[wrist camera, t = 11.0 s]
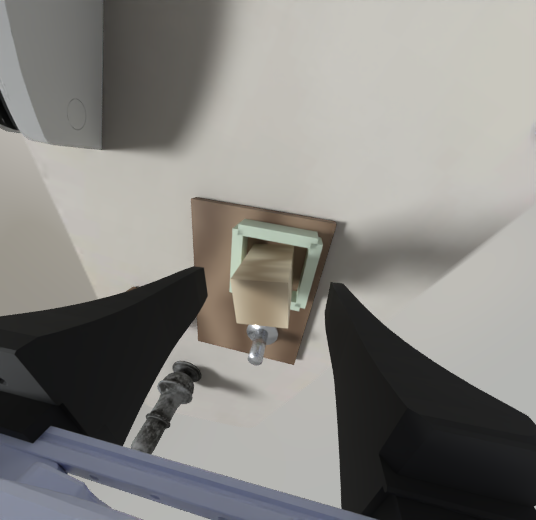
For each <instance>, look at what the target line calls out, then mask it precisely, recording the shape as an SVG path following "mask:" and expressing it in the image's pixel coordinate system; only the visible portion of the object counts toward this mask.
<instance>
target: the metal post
mask: <svg viewBox="0 0 536 520" xmlns="http://www.w3.org/2000/svg"><path fill="white" fill-rule="evenodd" d="M247 335H248V337H249V338H250V339H251V340H252V341H253V343H252V346H251V349H250V353H249V356H248V361H249V362H250V363H251V364H253V365H260V364H261V363H262V360H263V356H264V351H265V347H266V345H269V344H272V343H274V342H275V341H276V340H277V337H278V329H277V327H268V326H258V325H249V324H248V327H247Z"/></svg>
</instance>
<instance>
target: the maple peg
mask: <svg viewBox="0 0 536 520" xmlns="http://www.w3.org/2000/svg"><path fill="white" fill-rule="evenodd" d="M293 275H294V245H289V244H254V245H253V246H252V248H251V249H250V251H249V252H248V254H247V255H246V257H245V258H244V260H243V261H242V263H241V264H240V266H239V267H238V268H237V270H236V271H235V273H234V274H233V276H232V277H231V279H230V281H231V288H232V295H233V302H234V309H235V315H236V322H237V323H239V324H249V325H258V326H268V327H278V328H287V329H288V324H289V315H290V306H291V297H292V288H293Z"/></svg>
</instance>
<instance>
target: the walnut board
mask: <svg viewBox="0 0 536 520" xmlns="http://www.w3.org/2000/svg"><path fill="white" fill-rule="evenodd" d="M191 210H192V229H193V249H194V266H196V267H204V271H205V278H206V285H207V293H208V297H207V299H206V301H205V303H204V305H203V307H202V308H201V310H200V312H199V313H198V315H197V328H198V341H201V342H205V343H209V344H213V345H217V346H221V347H225V348H229V349H233V350H237V351H241V352H245V353H250V349H251V346H252V343H253V341H252V340H251V339H250V338H249V337H248V335H247V327H248V324H239V323H237V322H236V315H235V309H234V302H233V295H232V293H231V292H229V289H230V269H231V248H232V228H234V227H235V226H236V225H237V224H238V223H240V222H241V221H242V220H244V219H250V220H255V221H261V222H266V223H272V224H277V225H283V226H288V227H294V228H299V229H305V230H310V231H316V232H317V233H318V237H320V238H321V239H322V243H323V247H322V251H321V254H320V258H319V261H318V265H317V268H316V272H315V275H314V279H313V282H312V286H311V289H310V293H309V296H308V300H307V303H306V307H305V309H304V308H300V309H299V311H295V310H290V315H289V324H288V329H287V328H278V327H277V329H278V337H277V340H276V341H275V342H274V343H272V344H269V345H266V347H265V351H264V356H263V357H264V358H268V359H272V360H276V361H280V362H284V363H288V364H292V365H294V363H295V360H296V356H297V353H298V350H299V346H300V343H301V340H302V337H303V333H304V330H305V327H306V323H307V320H308V317H309V314H310V310H311V307H312V304H313V300H314V297H315V294H316V291H317V287H318V284H319V281H320V277H321V274H322V271H323V268H324V264H325V261H326V258H327V254H328V251H329V248H330V245H331V241H332V238H333V235H334V231H335V228H336V225H337V224H336V222H335V221H330V220H324V219H318V218H313V217H307V216H301V215H295V214H290V213H284V212H278V211H272V210H267V209H261V208H255V207H249V206H244V205H238V204H232V203H226V202H220V201H215V200H209V199H203V198H197V197H195V198H192V199H191ZM254 244H283V243H278V242H273V241H268V240H262V239H257V238H252V237H248V244H247V254H248V252H249V251H250V249H251V248H252V246H253V245H254ZM306 252H307V248H304V247H299V246H294V275H293V288H292V290H293V291H297V289H298V285H299V281H300V277H301V273H302V269H303V265H304V261H305V257H306Z"/></svg>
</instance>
